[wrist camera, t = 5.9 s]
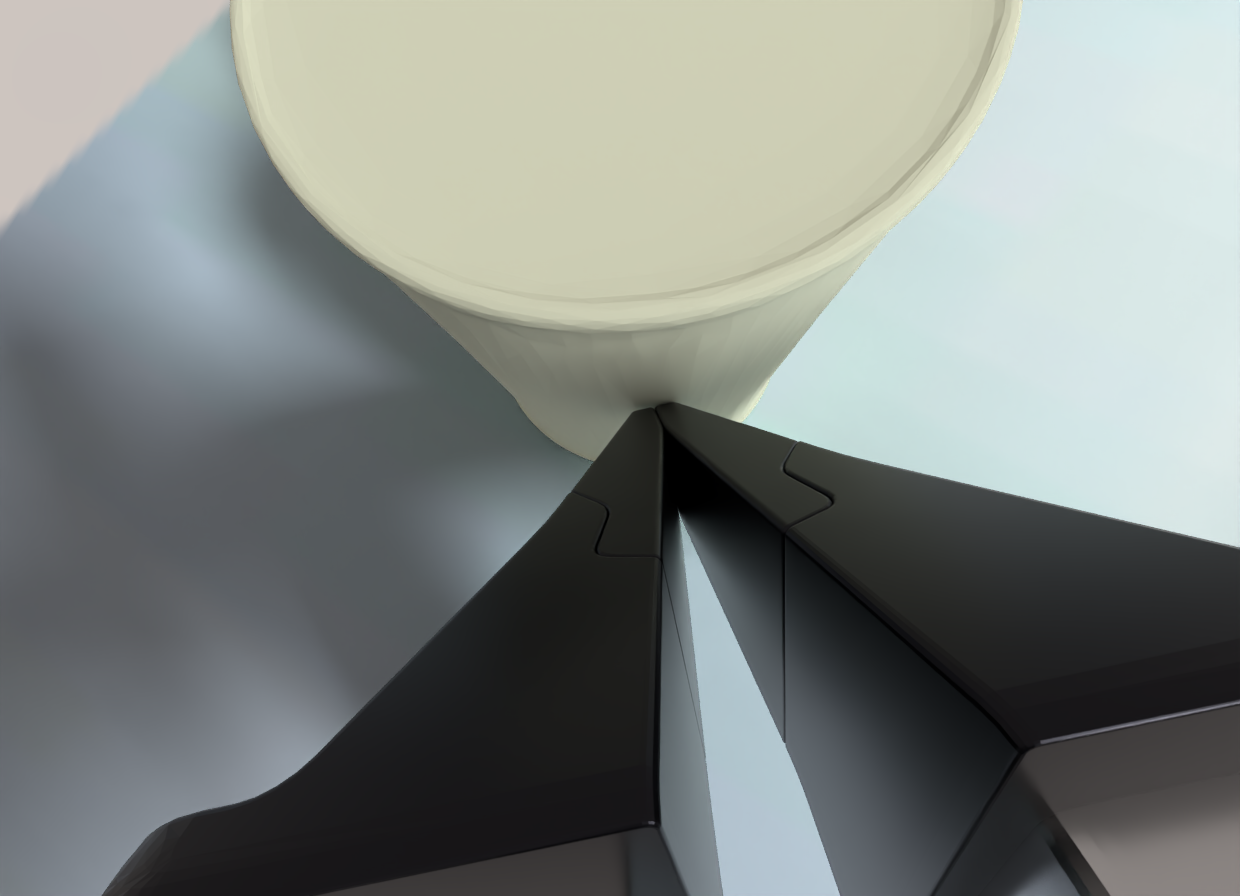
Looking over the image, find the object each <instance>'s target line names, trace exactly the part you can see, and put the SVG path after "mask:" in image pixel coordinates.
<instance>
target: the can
mask: <svg viewBox="0 0 1240 896" xmlns="http://www.w3.org/2000/svg"><path fill="white" fill-rule="evenodd" d="M1022 3H1023V0H230V24H231V41H232V51H233V57H234V62H235V67H236V73H237V78H238V84H239V86H240V89H241V92H242V95H243V98H244V101H245V104H246V106H247V109H248V112H249V115H250V118H251V121H252V124H253V126H254V129H255V131H256V133H257V135H258V137H259V138H260V140H261V142H262V144H263V146H264V148H265V150H266V152H267V154H268V156H269V158H270V159H271V161H272V163H273V165H274V166H275V168H276V169H277V171H278V172H279V174H280V175H281V176H282V178H283V179H284V181H285V182H286V184H287V185H288V187H289V188H290V190H291V191H292V192H293V193H294V195H295V196H296V197H297V198H298V199H299V201H300V202H301V203H302V204H303V205H304V207H305V208H306V209H307V210H308V211H309V212H310V213H311V214H312V215H313V216H314V217H315V218H316V220H317V221H318V222H319V223H320V224H321V225H322V226H323V227H324V228H325V229H326V230H327V231H328V232H329V233H330V234H332V235H333V236H334V237H335V238H336V239H337V240H338V241H340V242H341V243H342V244H343V245H344V246H346V247H347V248H348V249H349V250H350V251H352V252H353V253H354V254H355V255H357V256H358V257H359V258H361V259H362V260H363V261H365V262H366V263H368V264H369V265H370V266H372V267H373V268H374V269H376V270H378V271H379V272H381V273H382V274H384V275H385V276H386V277H388V278H389V279H390V280H391V281H392V282H393V283H395V284H396V285H397V286H398V287H399V288H400V289H401V290H402V291H403V292H404V293H406V294H407V295H408V296H409V297H410V298H411V299H412V300H413V301H414V302H415V303H416V304H417V305H418V306H420V307H421V308H422V309H423V310H424V311H425V312H426V313H427V314H428V315H429V316H430V317H431V318H432V319H434V320H435V321H436V322H437V323H438V324H439V325H440V326H441V327H442V328H443V329H444V330H445V331H446V332H447V333H449V334H450V335H451V336H452V337H453V338H454V339H455V340H456V341H457V342H458V343H459V344H460V345H461V346H462V347H464V348H465V349H466V350H467V351H468V352H469V353H470V354H471V355H472V356H473V357H474V358H475V359H476V360H477V361H478V362H479V363H480V364H481V365H482V366H483V367H484V368H485V369H486V370H487V371H488V372H489V373H490V374H491V375H492V376H493V377H494V378H495V379H496V380H497V381H498V382H499V383H500V384H502V385H503V386H504V387H505V388H506V389H507V390H508V391H509V392H510V393H511V394H512V395H513V396H514V397H515V399H516V401H517V403H518V404H519V406H520V407H521V409H522V410H523V412H524V413H525V414H526V416H527V417H528V418H529V419H530V421H531V422H532V423H533V424H534V425H535V426H536V427H537V428H538V429H539V430H540V431H541V432H543V433H544V434H545V435H546V436H547V437H549V438H550V439H551V440H552V441H554V442H555V443H557V444H558V445H560V446H561V447H563V448H565V449H566V450H568V451H570V452H572V453H574V454H576V455H578V456H581V457H583V458H586V459H588V460H592V461H595V460H596V459H597V457H598V456H599V455H600V453H601V452H602V451H603V449H604V448H605V447H606V445H607V444H608V443H609V442H610V440H611V439H612V438H613V436H614V435H615V434H616V432H617V431H618V430H619V428H620V427H621V426H622V425H623V423H624V422H625V421H626V419H627V418H628V417H629V415H630V414H631V413H632V412H633V411H636V410H641V409H645V408H649V407H652V408H654V409H655V407H656V406H658V405H663V404H667V403H672V402H677V403H680V404H683V405H687V406H690V407H693V408H696V409H699V410H702V411H705V412H708V413H711V414H715V415H718V416H721V417H724V418H727V419H730V420H733V421H736V422H739V423H742V422H743V421H744V420H745V419H746V418H747V416H748V415H749V414H750V413H751V411H752V410H753V409H754V407H755V406H756V404H757V403H758V401H759V400H760V398H761V396H762V395H763V393H764V391H765V389H766V387H767V385H768V383H769V380H770V377H771V376H772V375H773V374H774V372H775V371H776V370H777V368H778V367H779V366H780V365H781V363H782V362H783V361H784V360H785V358H786V357H787V356H788V354H789V353H790V352H791V351H792V349H793V348H794V347H795V346H796V344H797V343H798V342H799V340H800V339H801V338H802V337H803V335H804V334H805V333H806V332H807V330H808V329H809V328H810V326H811V325H812V324H813V323H814V321H815V320H816V319H817V318H818V316H819V315H820V314H821V313H822V311H823V310H824V309H825V308H826V307H827V305H828V304H829V303H830V302H831V301H832V299H833V298H834V297H835V296H836V295H837V293H838V292H839V291H840V290H841V288H842V287H843V286H844V285H845V284H846V282H847V281H848V280H849V279H850V278H851V276H852V275H853V274H854V273H855V272H856V270H857V269H858V268H859V267H860V266H861V264H862V263H863V262H864V261H865V260H866V258H867V257H868V256H869V255H870V253H871V252H872V251H873V250H874V249H875V247H876V246H877V245H878V244H879V243H880V241H881V240H882V239H883V238H884V237H885V235H886V234H887V233H888V232H889V231H890V230H891V229H892V228H893V227H894V226H895V225H897V224H898V223H899V222H900V221H901V220H902V219H903V218H904V217H905V216H907V215H908V214H909V213H910V212H911V211H912V210H913V209H914V208H915V207H916V206H917V205H918V204H919V203H920V202H921V201H922V200H923V199H924V198H925V197H926V196H927V195H928V194H929V193H930V192H931V191H932V190H933V189H934V188H935V187H936V185H937V184H938V183H939V182H940V180H941V179H942V178H943V177H944V176H945V174H946V173H947V172H948V171H949V169H950V168H951V167H952V166H953V164H954V163H955V162H956V160H957V159H958V158H959V156H960V155H961V154H962V152H963V151H964V149H965V148H966V146H967V145H968V143H969V141H970V140H971V138H972V137H973V135H974V133H975V132H976V130H977V129H978V127H979V125H980V124H981V122H982V121H983V119H984V117H985V115H986V113H987V111H988V109H989V107H990V105H991V103H992V100H993V98H994V96H995V94H996V92H997V90H998V88H999V86H1000V84H1001V81H1002V78H1003V76H1004V73H1005V70H1006V68H1007V65H1008V62H1009V60H1010V56H1011V53H1012V49H1013V46H1014V42H1015V39H1016V35H1017V32H1018V28H1019V23H1020V16H1021V10H1022Z"/></svg>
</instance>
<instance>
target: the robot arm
mask: <svg viewBox="0 0 1240 896" xmlns="http://www.w3.org/2000/svg"><path fill="white" fill-rule="evenodd" d="M678 511H679V512H678ZM679 513H680V516H681V518H682V521H683V523H684V525H685V527H686V530H687V532H688V534H689V536H690V538H691V541H692V543H693V545H694V547H695V549H696V552H697V554H698V556H699V558H700V560H701V563H702V565H703V567H704V569H705V571H706V573H707V576H708V578H709V580H710V582H711V584H712V587H713V589H714V591H715V593H716V595H717V598H718V600H719V602H720V604H721V606H722V608H723V611H724V613H725V615H726V617H727V619H728V622H729V624H730V626H731V628H732V630H733V633H734V635H735V637H736V639H737V641H738V644H739V646H740V648H741V650H742V652H743V654H744V657H745V659H746V661H747V663H748V665H749V668H750V670H751V672H752V674H753V676H754V679H755V681H756V683H757V685H758V687H759V690H760V692H761V694H762V696H763V698H764V700H765V703H766V705H767V707H768V709H769V711H770V714H771V716H772V718H773V720H774V722H775V725H776V727H777V729H778V731H779V733H780V735H781V738H782V740H783V742H784V743H786V748H787V751H788V753H789V755H790V757H791V760H792V762H793V764H794V767H795V769H796V772H797V774H798V777H799V779H800V782H801V784H802V787H803V790H804V792H805V795H806V798H807V801H808V803H809V806H810V809H811V812H812V815H813V818H814V821H815V824H816V827H817V829H818V832H819V835H820V838H821V841H822V844H823V847H824V850H825V853H826V855H827V858H828V861H829V864H830V867H831V870H832V873H833V876H834V878H835V881H836V884H837V887H838V890H839V893H840V896H1240V548H1239V547H1235V546H1231V545H1226V544H1222V543H1218V542H1214V541H1209V540H1205V539H1201V538H1196V537H1192V536H1188V535H1184V534H1179V533H1175V532H1171V531H1166V530H1162V529H1158V528H1154V527H1149V526H1145V525H1141V524H1136V523H1132V522H1128V521H1124V520H1119V519H1115V518H1111V517H1106V516H1102V515H1098V514H1094V513H1089V512H1085V511H1081V510H1076V509H1072V508H1068V507H1064V506H1059V505H1055V504H1051V503H1046V502H1042V501H1038V500H1034V499H1029V498H1025V497H1021V496H1016V495H1012V494H1008V493H1004V492H999V491H995V490H991V489H987V488H982V487H978V486H974V485H969V484H965V483H961V482H957V481H952V480H948V479H944V478H939V477H935V476H931V475H927V474H922V473H918V472H914V471H909V470H905V469H901V468H897V467H892V466H888V465H884V464H880V463H876V462H872V461H868V460H864V459H859V458H855V457H851V456H847V455H844V454H840V453H837V452H833V451H830V450H827V449H823V448H820V447H817V446H814V445H811V444H807V443H804V442H801V441H800V442H797V441H795V440H792V439H789V438H786V437H783V436H780V435H777V434H774V433H771V432H767V431H764V430H761V429H758V428H755V427H752V426H749V425H746V424H743V423H739V422H736V421H733V420H730V419H727V418H724V417H721V416H718V415H715V414H711V413H708V412H705V411H702V410H699V409H696V408H693V407H690V406H687V405H683V404H680V403H677V402H672V403H667V404H663V405H658V406H656V407H655V409H654V408H652V407H649V408H645V409H641V410H636V411H633V412H632V413H631V414H630V415H629V417H628V418H627V419H626V421H625V422H624V423H623V425H622V426H621V427H620V428H619V430H618V431H617V432H616V434H615V435H614V436H613V438H612V439H611V440H610V442H609V443H608V444H607V445H606V447H605V448H604V449H603V451H602V452H601V453H600V455H599V456H598V457H597V459H596V460H595V461H594V462H593V464H592V465H591V466H590V468H589V469H588V470H587V472H586V473H585V474H584V476H583V477H582V478H581V479H580V481H579V482H578V483H577V485H576V486H575V487H574V489H573V490H572V491H571V493H569V494H568V495H567V496H566V498H565V499H564V500H563V502H562V503H561V504H560V506H559V507H558V508H557V509H556V510H555V512H554V513H553V514H552V515H551V516H550V518H549V519H548V520H547V521H546V522H545V523H544V525H543V526H542V527H541V528H540V529H539V530H538V531H537V532H536V533H535V534H534V535H533V536H532V537H531V538H530V539H529V540H528V542H527V543H526V544H525V545H524V546H523V547H522V548H521V549H520V550H519V551H518V552H517V553H516V554H515V555H514V556H513V557H512V558H511V559H510V560H509V561H508V562H507V563H506V564H505V565H504V566H503V567H502V568H501V569H500V570H499V571H498V572H497V573H496V574H495V575H494V576H493V577H492V578H491V579H490V580H489V581H488V582H487V583H486V584H485V585H484V586H483V587H482V588H481V589H480V590H479V591H478V592H477V593H476V594H475V595H474V596H473V597H472V598H471V599H470V600H469V601H468V602H467V603H466V604H465V605H464V606H463V607H462V608H461V609H460V610H459V611H458V612H457V613H456V614H455V615H454V616H453V617H452V618H451V619H450V620H449V621H448V622H447V623H446V624H445V625H444V626H443V627H442V628H441V629H440V630H439V632H438V633H437V634H436V635H435V636H434V637H433V638H432V639H431V640H430V641H429V642H428V643H427V644H426V645H425V646H424V647H423V648H422V649H421V650H420V651H419V652H418V653H417V654H416V655H415V656H414V657H413V658H412V659H411V660H410V661H409V662H408V663H407V664H406V665H405V666H404V667H403V668H402V669H401V670H400V671H399V672H398V673H397V674H396V675H395V676H394V677H393V678H392V679H391V680H390V681H389V682H388V683H387V684H386V685H385V686H384V687H383V688H382V689H381V690H380V691H379V692H378V693H377V694H376V695H375V696H374V697H373V698H372V699H371V700H370V701H369V702H368V703H367V704H366V705H365V706H364V707H363V708H362V709H361V710H360V711H359V712H358V713H357V714H356V715H355V716H354V717H353V718H352V719H351V720H350V721H349V722H348V723H347V724H346V725H345V726H344V727H343V728H342V729H341V730H340V731H339V732H338V733H337V734H336V735H335V736H334V738H333V739H332V740H331V741H330V742H329V743H328V744H327V745H326V746H325V747H324V748H323V749H322V750H321V751H320V752H319V753H318V754H317V755H316V756H315V757H314V758H312V759H311V760H310V761H309V762H308V763H307V764H306V765H304V766H303V767H302V768H301V769H300V770H299V771H298V772H296V773H295V774H294V775H292V776H291V777H289V778H288V779H286V780H285V781H283V782H282V783H281V784H279V785H278V786H276V787H274V788H272V789H270V790H268V791H266V792H265V793H263V794H261V795H259V796H257V797H255V798H252V799H249V800H246V801H243V802H240V803H236V804H232V805H227V806H222V807H217V808H213V809H208V810H203V811H200V812H196V813H193V814H189V815H186V816H183V817H179V818H176V819H174V820H172V821H170V822H168V823H166V824H164V825H162V826H160V827H159V828H158V829H156V830H155V831H154V832H152V833H151V834H150V835H149V836H148V837H147V838H146V839H145V840H144V841H143V842H142V844H141V845H140V846H139V847H138V849H137V850H136V851H135V852H134V853H133V855H132V856H131V857H130V858H129V859H128V861H127V862H126V863H125V864H124V865H123V867H122V868H121V869H120V871H119V872H118V874H117V875H116V876H115V878H114V879H113V880H112V882H111V883H110V884H109V886H108V887H107V889H106V890H105V892H104V893H103V894H102V896H723V891H722V884H721V876H720V869H719V861H718V853H717V846H716V838H715V831H714V823H713V816H712V808H711V800H710V792H709V783H708V775H707V766H706V760H705V758H706V756H705V747H704V738H703V729H702V719H701V710H700V701H699V692H698V683H697V673H696V664H695V655H694V646H693V636H692V627H691V618H690V609H689V599H688V590H687V581H686V572H685V563H684V553H683V544H682V535H681V526H680V518H679Z"/></svg>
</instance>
